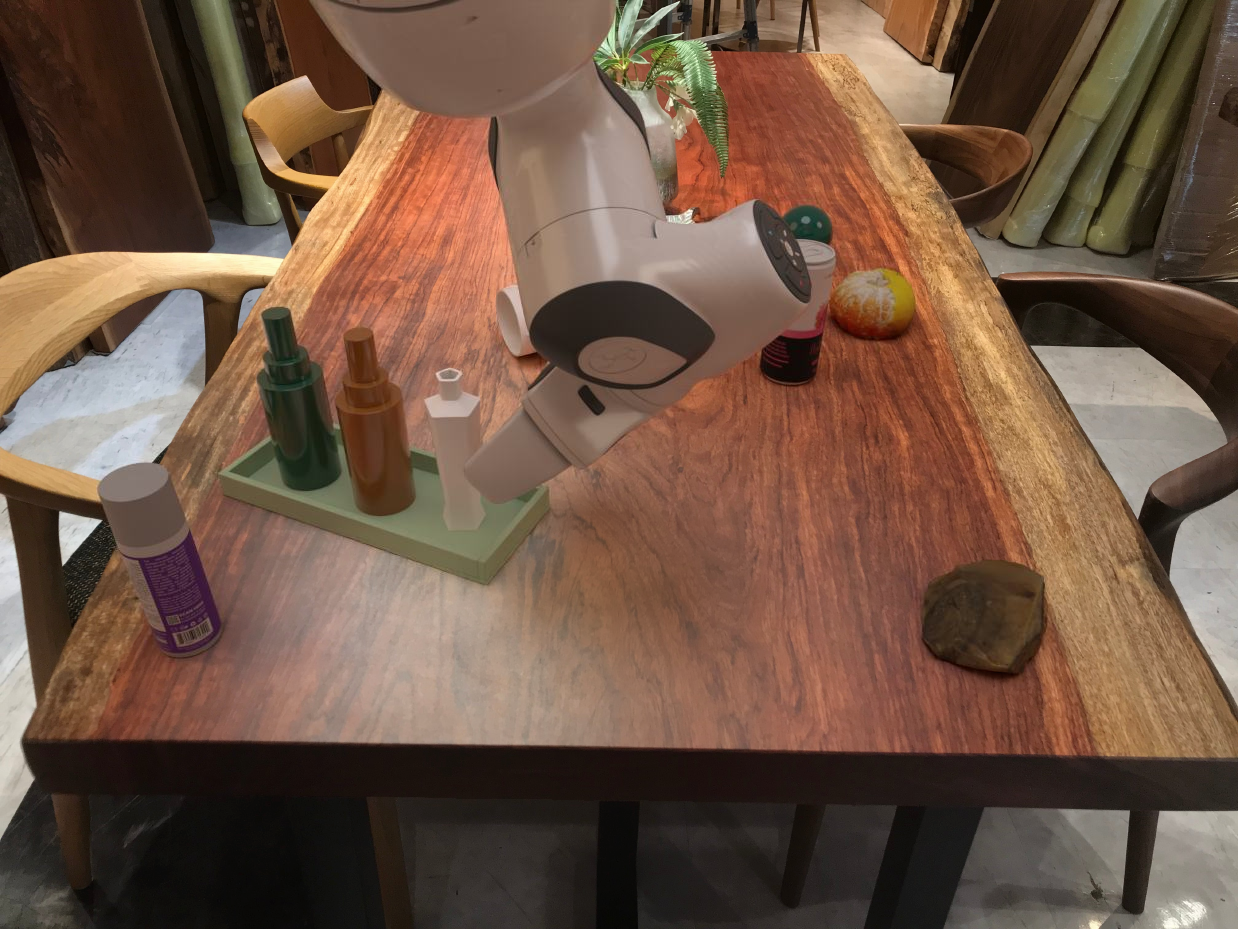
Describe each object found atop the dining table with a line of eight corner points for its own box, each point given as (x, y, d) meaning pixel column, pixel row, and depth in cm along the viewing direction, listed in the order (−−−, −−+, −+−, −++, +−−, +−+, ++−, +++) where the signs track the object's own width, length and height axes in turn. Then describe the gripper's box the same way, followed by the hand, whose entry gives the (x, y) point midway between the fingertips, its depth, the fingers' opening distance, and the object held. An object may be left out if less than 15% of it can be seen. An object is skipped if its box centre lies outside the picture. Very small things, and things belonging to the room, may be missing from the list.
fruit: (833, 293, 121) (861, 242, 116) (903, 329, 119) (935, 279, 114) (812, 326, 112) (841, 272, 107) (887, 365, 111) (920, 313, 106)
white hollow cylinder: (597, 356, 106) (598, 295, 102) (523, 371, 103) (520, 308, 98) (561, 314, 115) (560, 255, 110) (491, 327, 112) (487, 267, 107)
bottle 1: (316, 497, 83) (279, 333, 73) (268, 481, 84) (225, 319, 74) (354, 465, 87) (324, 305, 77) (308, 451, 89) (272, 293, 79)
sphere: (767, 264, 129) (774, 210, 124) (780, 245, 135) (787, 193, 130) (822, 274, 127) (831, 219, 122) (833, 254, 133) (842, 201, 128)
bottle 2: (392, 522, 80) (365, 356, 70) (341, 506, 82) (307, 341, 72) (428, 488, 84) (406, 326, 74) (378, 473, 86) (351, 312, 76)
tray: (549, 508, 83) (549, 486, 82) (486, 585, 75) (484, 563, 73) (305, 433, 92) (300, 412, 91) (223, 494, 84) (217, 473, 82)
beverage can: (826, 380, 103) (849, 257, 94) (777, 391, 101) (795, 266, 92) (796, 354, 108) (815, 235, 99) (749, 364, 106) (763, 243, 97)
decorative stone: (1040, 695, 67) (1055, 663, 64) (911, 656, 69) (922, 624, 67) (1043, 602, 74) (1056, 571, 72) (928, 570, 77) (938, 540, 75)
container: (230, 612, 71) (180, 460, 63) (212, 657, 68) (156, 502, 59) (170, 614, 71) (111, 461, 62) (148, 658, 67) (82, 503, 59)
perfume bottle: (426, 524, 80) (406, 379, 71) (458, 498, 83) (443, 356, 74) (466, 542, 78) (451, 396, 69) (497, 515, 81) (487, 372, 72)
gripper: (644, 279, 71) (539, 359, 80) (519, 401, 56) (406, 484, 65) (692, 340, 72) (584, 413, 81) (583, 477, 57) (464, 548, 66)
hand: (504, 446), depth 73 cm, fingers open, 8 cm apart
